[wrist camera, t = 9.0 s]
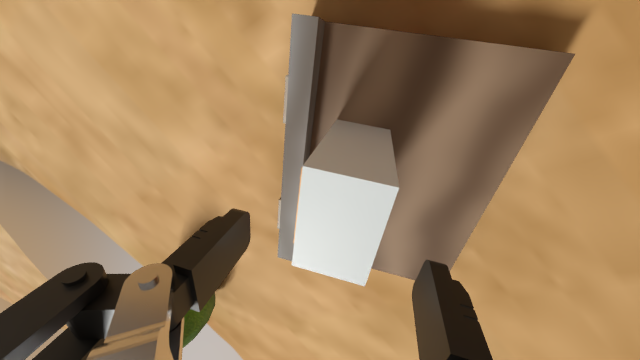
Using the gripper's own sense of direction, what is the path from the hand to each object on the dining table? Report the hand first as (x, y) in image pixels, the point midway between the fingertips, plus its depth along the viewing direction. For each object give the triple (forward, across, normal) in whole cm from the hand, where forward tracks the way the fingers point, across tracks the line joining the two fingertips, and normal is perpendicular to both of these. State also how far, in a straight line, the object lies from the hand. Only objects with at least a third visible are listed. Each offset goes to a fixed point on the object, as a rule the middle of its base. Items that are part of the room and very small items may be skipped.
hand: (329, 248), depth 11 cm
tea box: (+10, 0, 0) cm, 10 cm away
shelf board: (+12, -3, 0) cm, 12 cm away
